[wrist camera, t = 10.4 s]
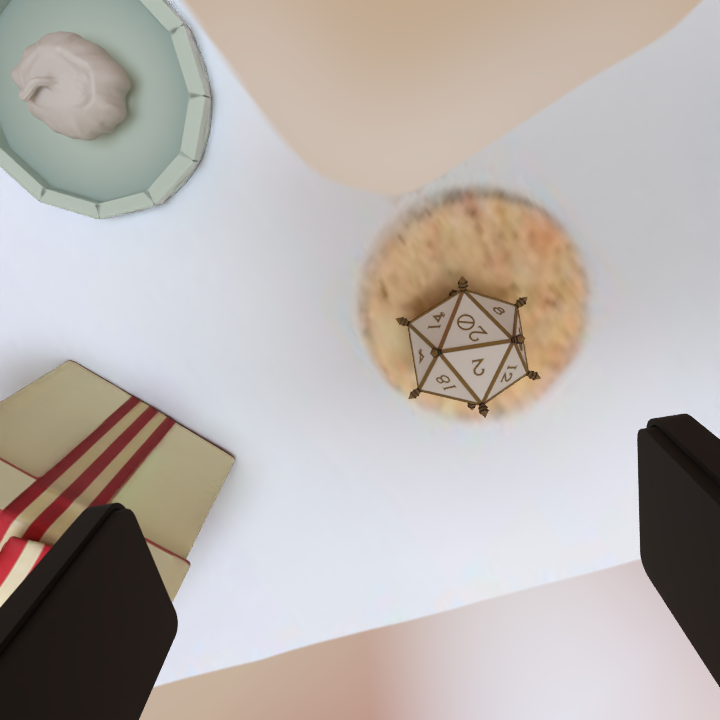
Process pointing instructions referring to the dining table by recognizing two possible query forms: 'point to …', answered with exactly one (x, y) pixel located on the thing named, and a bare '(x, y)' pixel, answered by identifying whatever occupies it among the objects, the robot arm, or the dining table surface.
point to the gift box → (98, 471)
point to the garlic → (72, 85)
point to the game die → (468, 348)
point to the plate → (143, 103)
